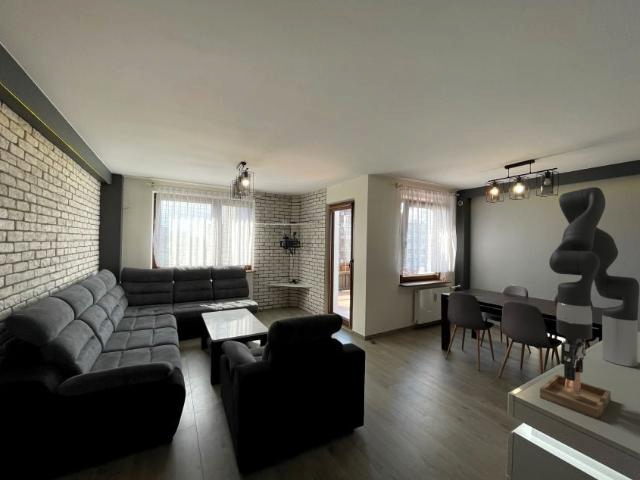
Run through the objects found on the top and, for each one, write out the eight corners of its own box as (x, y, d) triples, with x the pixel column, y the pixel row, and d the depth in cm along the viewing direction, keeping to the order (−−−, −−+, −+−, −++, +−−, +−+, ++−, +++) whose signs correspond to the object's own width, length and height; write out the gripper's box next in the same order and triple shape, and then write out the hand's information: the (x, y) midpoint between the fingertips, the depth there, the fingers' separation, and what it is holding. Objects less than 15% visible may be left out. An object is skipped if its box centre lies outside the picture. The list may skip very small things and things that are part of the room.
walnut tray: (556, 382, 87) (556, 374, 87) (610, 400, 77) (610, 391, 77) (539, 397, 78) (539, 388, 78) (598, 419, 68) (598, 410, 68)
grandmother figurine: (565, 384, 81) (566, 342, 82) (583, 389, 79) (583, 346, 79) (564, 393, 76) (564, 349, 76) (583, 399, 73) (583, 353, 73)
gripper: (563, 313, 85) (563, 364, 85) (549, 319, 77) (549, 376, 76) (597, 318, 79) (597, 374, 78) (585, 326, 70) (585, 388, 70)
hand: (573, 375), depth 77 cm, fingers closed on grandmother figurine, 8 cm apart
